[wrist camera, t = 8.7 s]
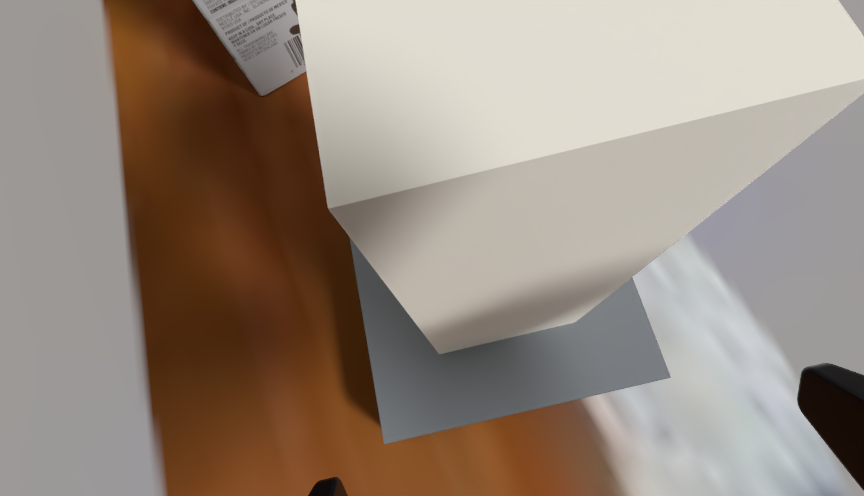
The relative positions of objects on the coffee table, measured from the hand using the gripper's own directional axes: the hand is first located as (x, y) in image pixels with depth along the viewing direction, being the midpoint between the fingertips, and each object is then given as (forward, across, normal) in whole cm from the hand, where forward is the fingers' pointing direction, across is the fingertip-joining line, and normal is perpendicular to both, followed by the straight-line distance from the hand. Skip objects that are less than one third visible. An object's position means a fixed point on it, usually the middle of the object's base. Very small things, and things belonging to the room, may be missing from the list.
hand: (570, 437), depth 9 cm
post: (+9, 0, +1) cm, 9 cm away
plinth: (+11, 0, +3) cm, 11 cm away
